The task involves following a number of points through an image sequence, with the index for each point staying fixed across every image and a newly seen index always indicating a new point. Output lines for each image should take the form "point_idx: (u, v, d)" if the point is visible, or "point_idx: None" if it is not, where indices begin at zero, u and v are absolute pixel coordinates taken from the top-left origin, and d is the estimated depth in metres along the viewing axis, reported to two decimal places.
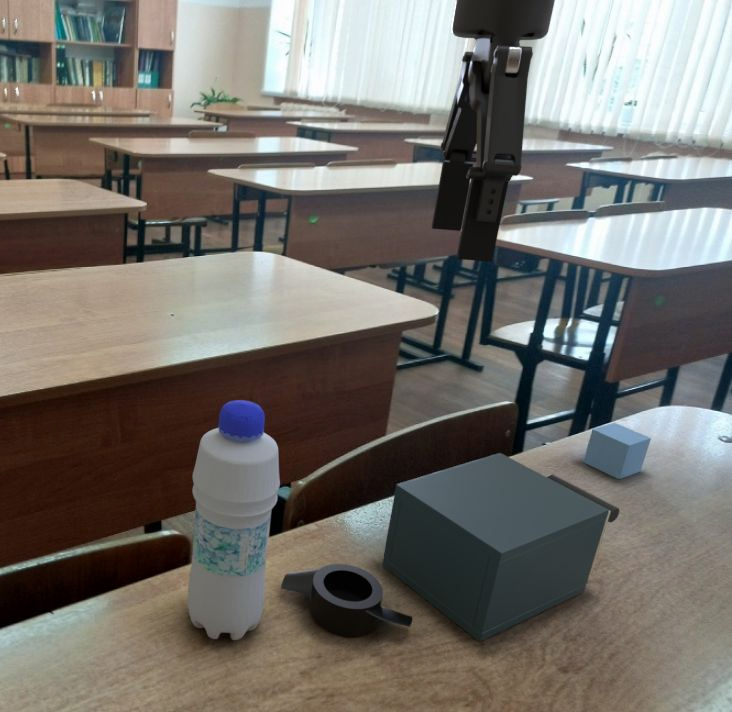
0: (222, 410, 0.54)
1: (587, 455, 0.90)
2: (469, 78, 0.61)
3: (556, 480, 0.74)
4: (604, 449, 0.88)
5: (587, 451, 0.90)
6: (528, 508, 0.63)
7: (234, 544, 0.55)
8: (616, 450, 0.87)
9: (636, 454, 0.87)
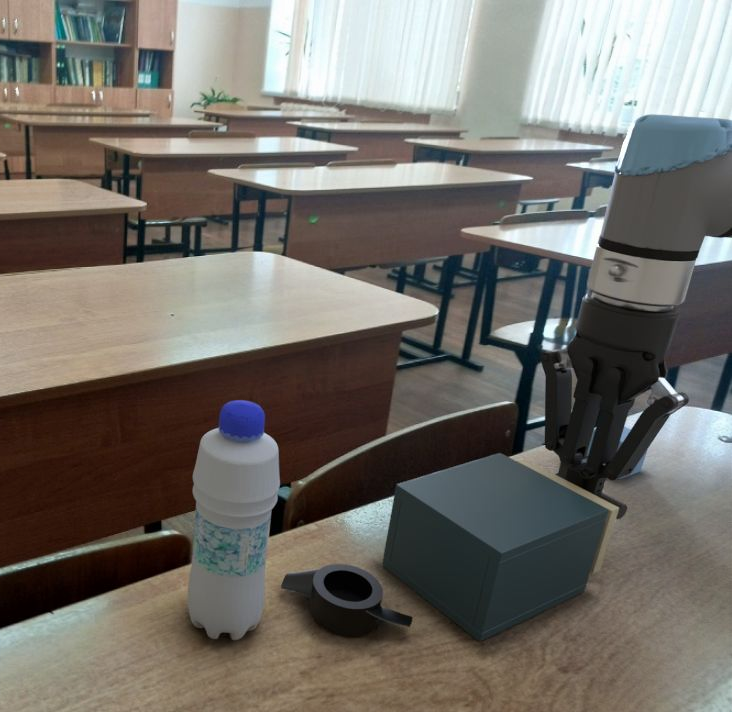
0: (222, 410, 0.54)
1: None
2: (608, 380, 0.65)
3: None
4: None
5: (587, 451, 0.90)
6: (528, 508, 0.63)
7: (234, 544, 0.55)
8: None
9: None
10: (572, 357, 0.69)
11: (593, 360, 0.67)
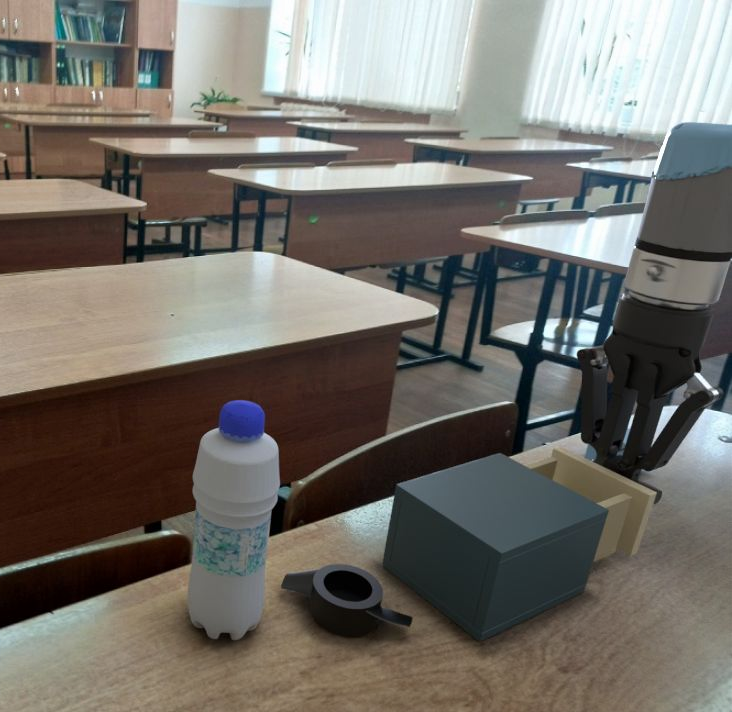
0: (222, 410, 0.54)
1: (587, 455, 0.90)
2: (645, 376, 0.68)
3: None
4: None
5: (587, 451, 0.90)
6: (528, 508, 0.63)
7: (234, 544, 0.55)
8: None
9: None
10: (608, 354, 0.72)
11: (630, 356, 0.70)
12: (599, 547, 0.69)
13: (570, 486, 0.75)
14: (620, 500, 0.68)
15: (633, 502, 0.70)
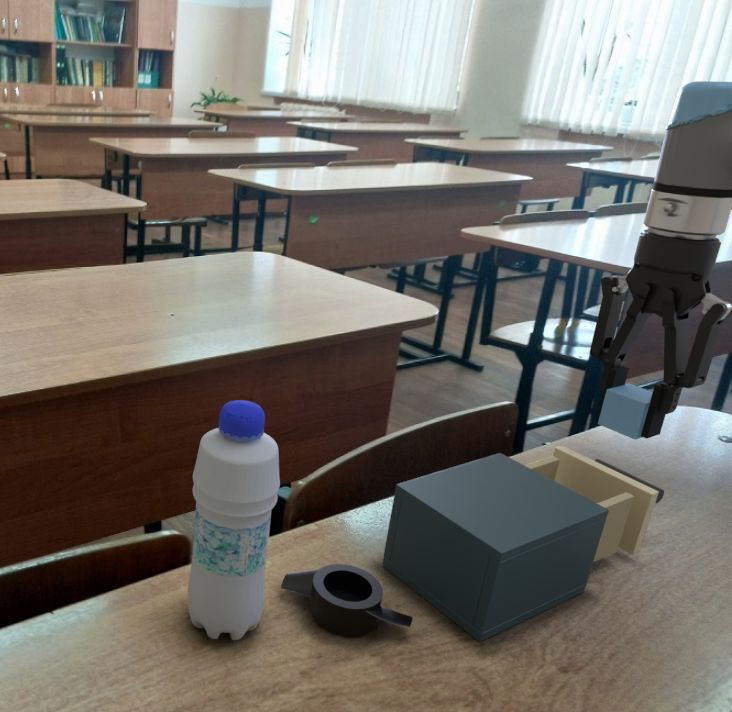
0: (222, 410, 0.54)
1: (602, 416, 0.88)
2: (664, 301, 0.80)
3: (601, 464, 0.78)
4: (620, 409, 0.86)
5: (602, 412, 0.88)
6: (528, 508, 0.63)
7: (234, 544, 0.55)
8: (632, 409, 0.85)
9: None
10: (629, 284, 0.84)
11: (650, 286, 0.82)
12: (601, 546, 0.69)
13: (572, 485, 0.76)
14: (623, 499, 0.68)
15: (635, 501, 0.70)
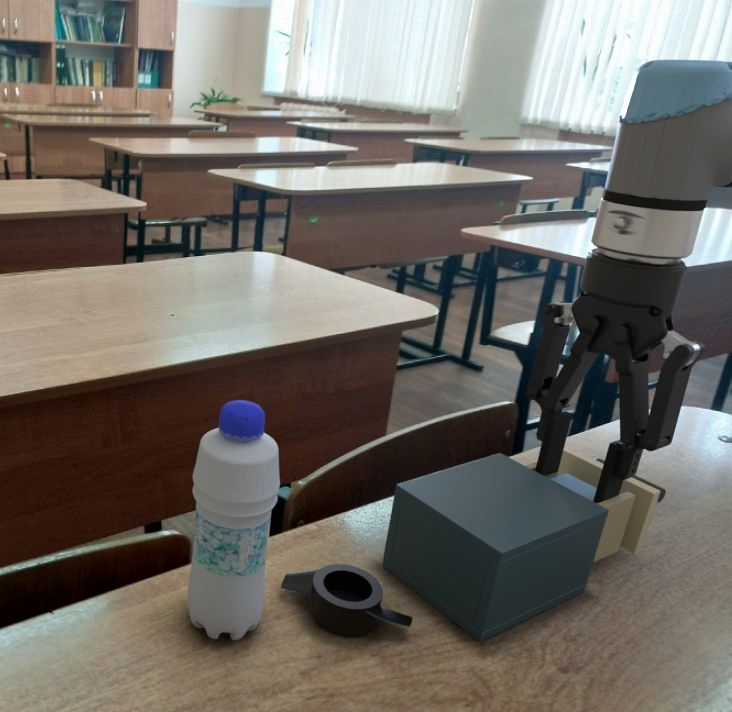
0: (222, 410, 0.54)
1: None
2: (616, 340, 0.63)
3: (603, 464, 0.78)
4: None
5: None
6: (528, 508, 0.63)
7: (234, 544, 0.55)
8: None
9: None
10: (575, 315, 0.67)
11: (599, 320, 0.65)
12: (603, 545, 0.69)
13: None
14: (624, 498, 0.68)
15: (637, 500, 0.70)
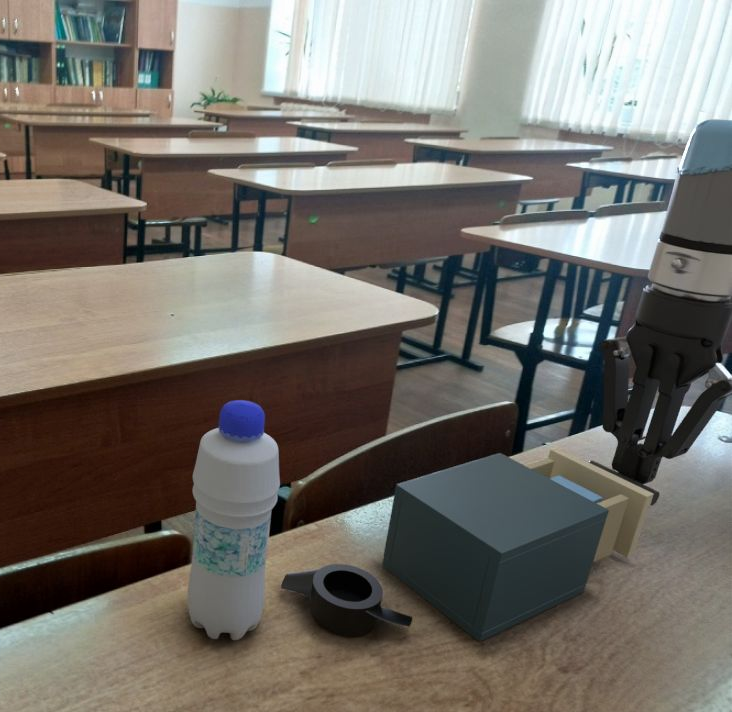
0: (222, 410, 0.54)
1: None
2: (667, 365, 0.70)
3: (596, 466, 0.77)
4: None
5: None
6: (528, 508, 0.63)
7: (234, 544, 0.55)
8: None
9: None
10: (631, 344, 0.74)
11: (652, 347, 0.72)
12: None
13: None
14: (617, 501, 0.67)
15: (630, 503, 0.70)
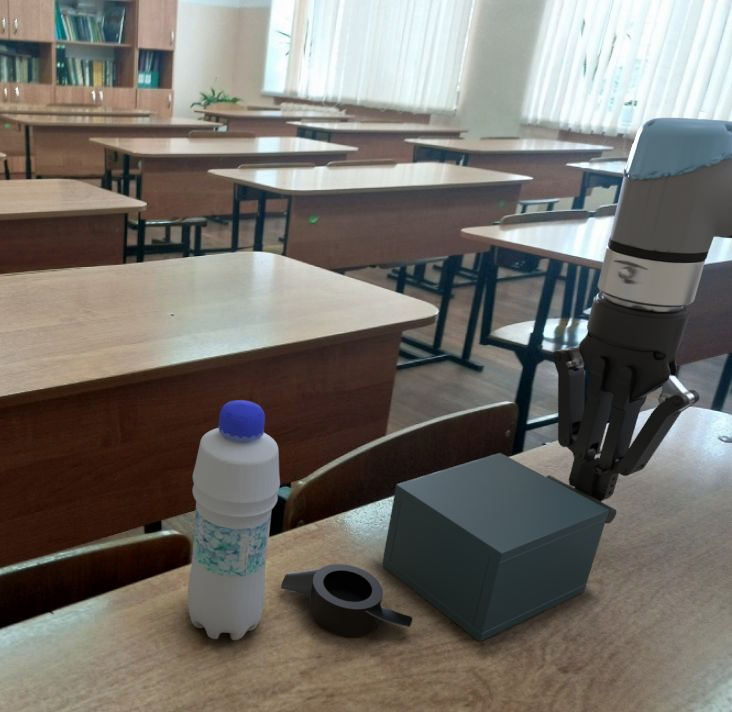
0: (222, 410, 0.54)
1: None
2: (619, 379, 0.67)
3: None
4: None
5: None
6: (528, 508, 0.63)
7: (234, 544, 0.55)
8: None
9: None
10: (584, 356, 0.70)
11: (605, 359, 0.68)
12: None
13: None
14: None
15: None
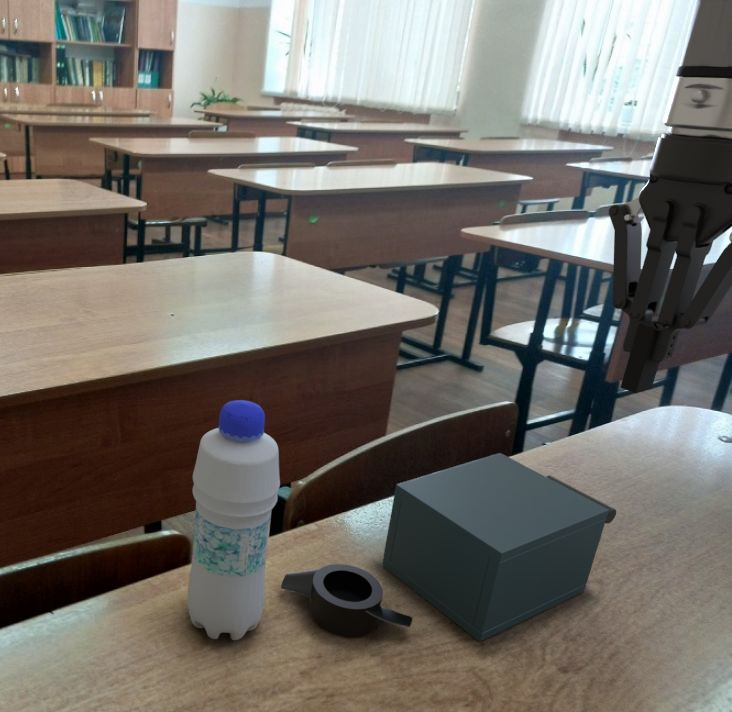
0: (222, 410, 0.54)
1: None
2: (686, 221, 0.63)
3: None
4: None
5: None
6: (528, 508, 0.63)
7: (234, 544, 0.55)
8: None
9: None
10: (644, 205, 0.66)
11: (669, 203, 0.64)
12: None
13: None
14: None
15: None
